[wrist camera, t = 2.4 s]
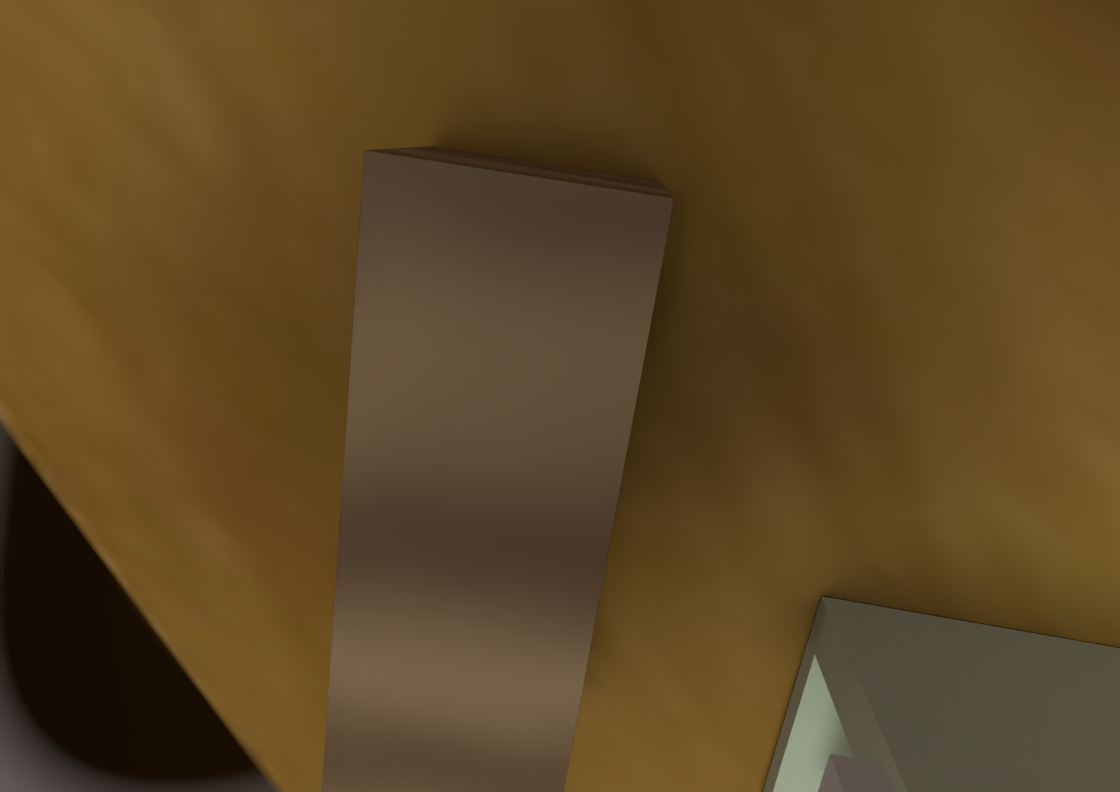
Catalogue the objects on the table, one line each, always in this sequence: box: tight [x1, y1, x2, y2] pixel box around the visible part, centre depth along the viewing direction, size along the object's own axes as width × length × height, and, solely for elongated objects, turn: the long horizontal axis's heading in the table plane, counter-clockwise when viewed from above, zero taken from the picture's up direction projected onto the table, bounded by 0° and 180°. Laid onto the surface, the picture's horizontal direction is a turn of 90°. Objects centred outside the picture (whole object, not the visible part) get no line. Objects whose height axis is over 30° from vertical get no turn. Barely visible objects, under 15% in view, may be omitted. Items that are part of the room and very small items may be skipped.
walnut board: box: [322, 146, 674, 792], centre depth 21 cm, size 16×6×6 cm, turn 172°
